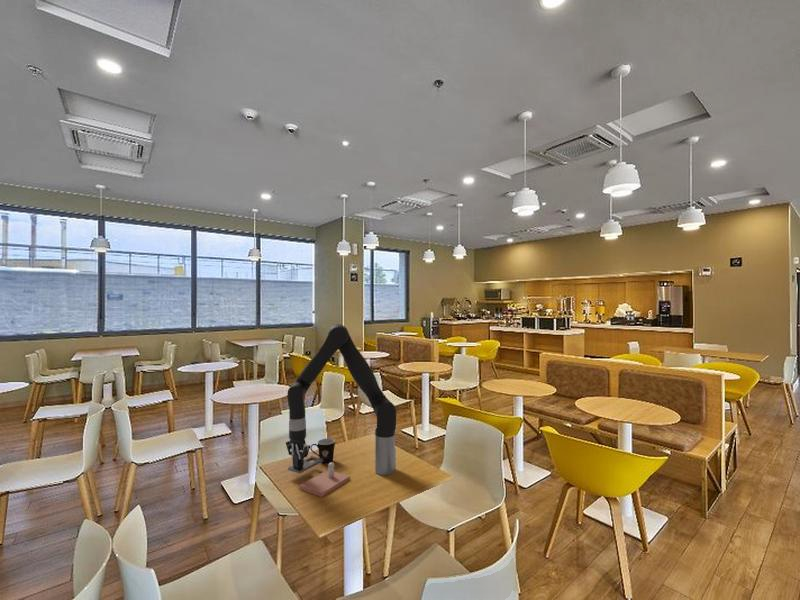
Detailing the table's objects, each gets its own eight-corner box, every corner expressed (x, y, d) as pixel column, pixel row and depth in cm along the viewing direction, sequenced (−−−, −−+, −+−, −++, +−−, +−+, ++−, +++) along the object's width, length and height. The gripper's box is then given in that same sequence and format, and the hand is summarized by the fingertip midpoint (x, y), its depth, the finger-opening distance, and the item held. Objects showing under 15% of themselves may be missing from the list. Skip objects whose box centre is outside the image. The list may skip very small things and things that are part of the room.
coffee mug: (338, 459, 187) (338, 439, 188) (328, 466, 180) (328, 445, 180) (319, 455, 192) (319, 436, 193) (309, 462, 185) (309, 442, 185)
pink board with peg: (328, 472, 173) (328, 455, 173) (349, 479, 166) (349, 461, 166) (299, 489, 157) (299, 470, 157) (321, 497, 150) (321, 477, 151)
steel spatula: (311, 458, 180) (311, 443, 180) (323, 461, 176) (322, 446, 176) (288, 470, 167) (287, 454, 167) (299, 473, 163) (299, 457, 163)
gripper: (314, 427, 167) (315, 466, 167) (293, 422, 174) (293, 459, 174) (302, 432, 161) (302, 472, 160) (280, 427, 168) (280, 465, 168)
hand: (298, 465), depth 167 cm, fingers closed on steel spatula, 3 cm apart
